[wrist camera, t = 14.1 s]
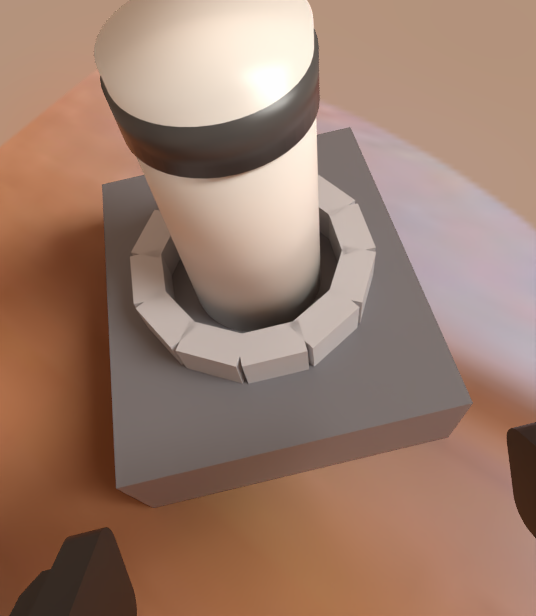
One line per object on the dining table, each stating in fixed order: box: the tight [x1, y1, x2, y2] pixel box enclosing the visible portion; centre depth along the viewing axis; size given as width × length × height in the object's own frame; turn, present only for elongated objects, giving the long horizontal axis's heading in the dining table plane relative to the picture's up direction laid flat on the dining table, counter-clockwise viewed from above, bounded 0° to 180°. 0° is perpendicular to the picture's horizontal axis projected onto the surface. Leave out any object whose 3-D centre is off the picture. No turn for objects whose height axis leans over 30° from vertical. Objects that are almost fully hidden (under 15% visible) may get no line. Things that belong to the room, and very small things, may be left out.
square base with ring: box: [102, 127, 473, 508], centre depth 21 cm, size 12×14×6 cm
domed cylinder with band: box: [94, 0, 321, 332], centre depth 16 cm, size 5×5×10 cm
